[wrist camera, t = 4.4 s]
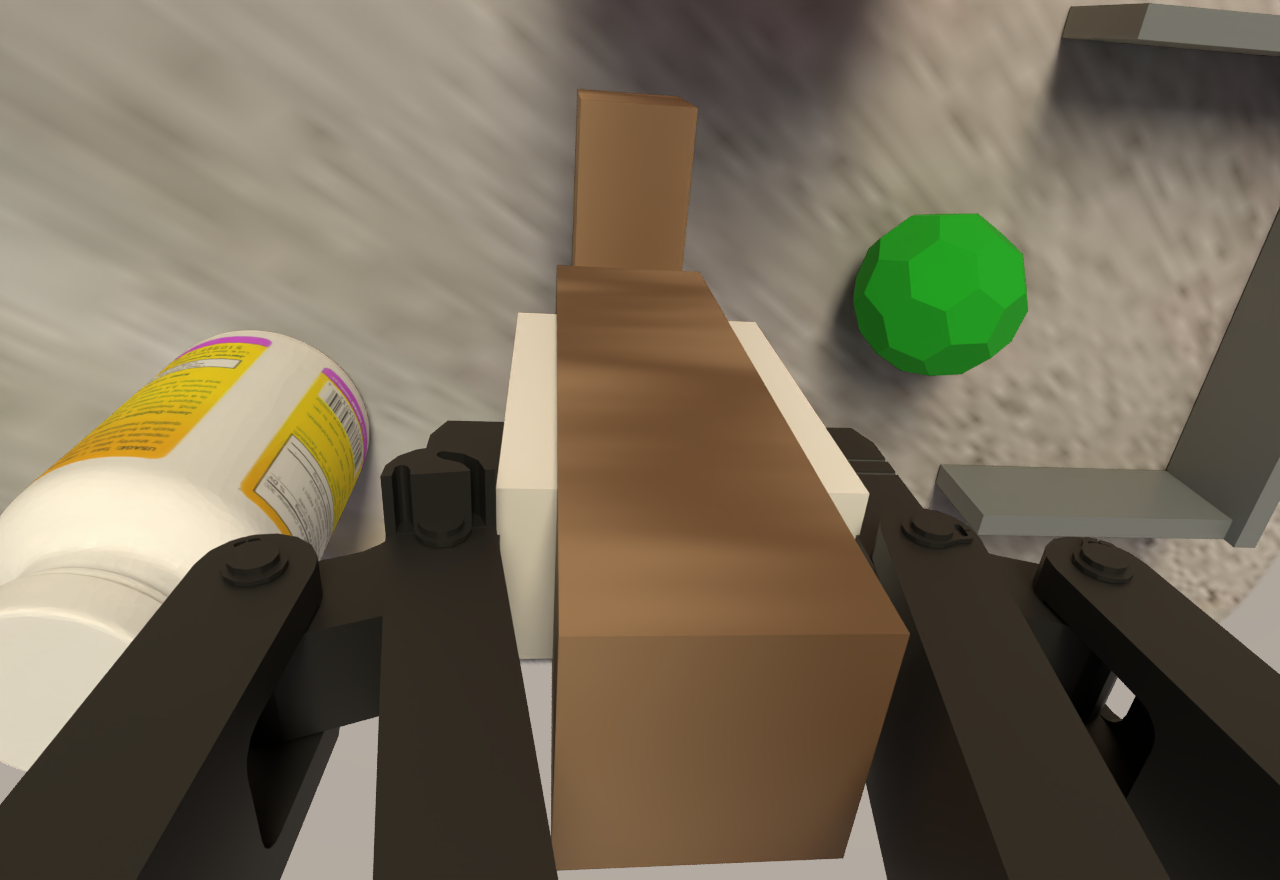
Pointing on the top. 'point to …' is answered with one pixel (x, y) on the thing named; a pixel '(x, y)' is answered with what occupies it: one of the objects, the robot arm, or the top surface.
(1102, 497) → the tray
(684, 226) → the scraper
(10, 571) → the supplement bottle
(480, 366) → the top surface
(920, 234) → the polyhedron
